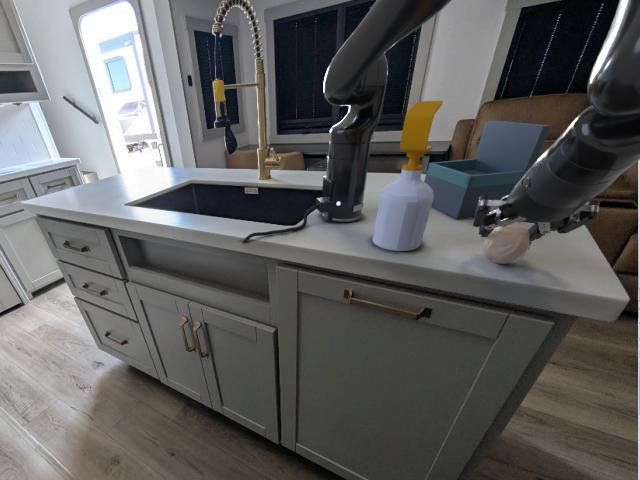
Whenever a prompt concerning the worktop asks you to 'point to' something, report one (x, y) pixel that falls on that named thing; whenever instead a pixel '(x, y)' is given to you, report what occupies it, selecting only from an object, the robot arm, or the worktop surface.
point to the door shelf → (486, 168)
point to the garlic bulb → (507, 243)
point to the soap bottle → (408, 187)
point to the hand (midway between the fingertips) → (506, 234)
